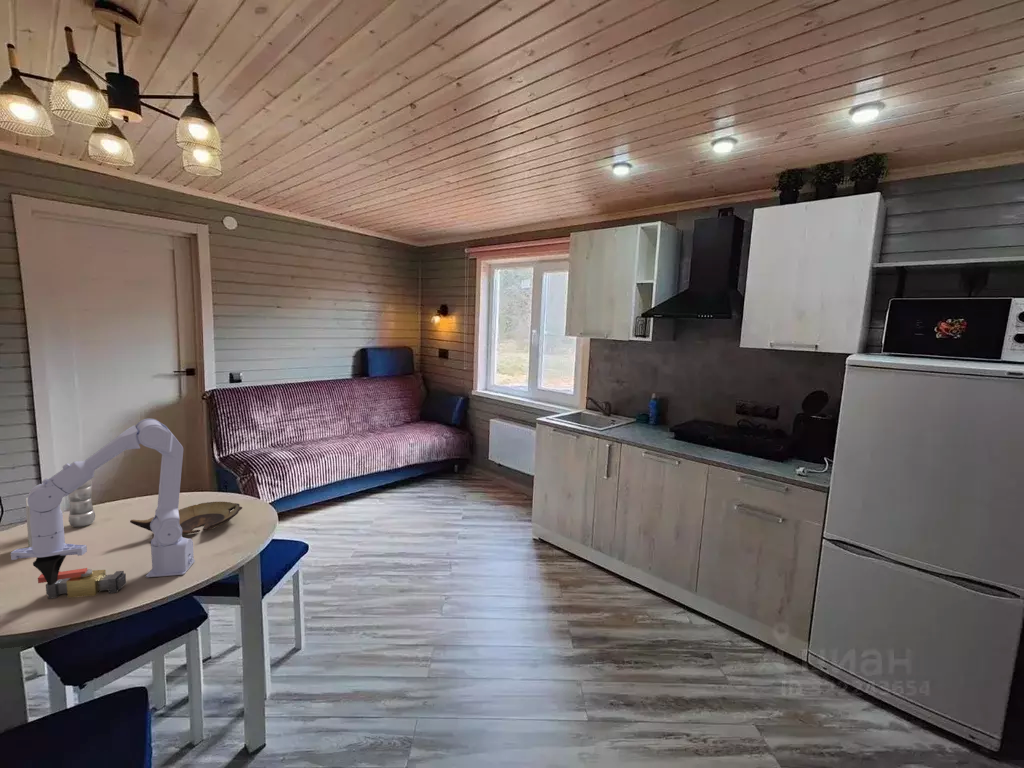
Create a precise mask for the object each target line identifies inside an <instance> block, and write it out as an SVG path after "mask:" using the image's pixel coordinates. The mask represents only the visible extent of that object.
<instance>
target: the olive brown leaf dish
mask: <svg viewBox="0 0 1024 768" xmlns="http://www.w3.org/2000/svg"><path fill="white" fill-rule="evenodd" d="M242 509H243V507H242V506H240V503H235V502H231V501H229V502H228V501H210V502H209V501H207V502H202V503H201V502H200V503H198V504H192V505H189V506H186V507H183V508H181V509H178V511H179V524H180V526H181V528H182V535H188V534H195V533H196V534H198V533H200V532H201V529H196V528H199V527H201V526H202V527H203V528H202V531H203V532H206V531H210V530H213V529H215V528H217V527H220V526H221V525H223V524H225V523H227V522H228V521H230V520H232V519H233V518H234V517H236V516H237V515H238V514H239V512H240V511H241V510H242ZM154 517H155V516H152V517H150V518H148V519H141V520H140V519H131V520H129V523H131V524H132V525H135V526H137V527H139V528H142V529H146V530H147V531H150V532H152V530H151V528H150V523H151V521H152V520H153V518H154ZM194 529H195V530H194Z"/></svg>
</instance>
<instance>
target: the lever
mask: <svg viewBox="0 0 1024 768" xmlns="http://www.w3.org/2000/svg"><path fill="white" fill-rule="evenodd" d="M92 570H93V569H91V568H90V569H89V568H88V567H86V568H85V567H84V568H77V569H71V570H64V571H61V570H59V573H58V577H57V580H59V579H66V578H73V577H79V576H80V577H87V576H90V575H92V573H93V572H92ZM37 583H38V584H43V583H47V581H46V579H45V577H44V576H43V574H42V573H41V574H39V576H38V577H37Z"/></svg>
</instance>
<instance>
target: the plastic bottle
mask: <svg viewBox="0 0 1024 768" xmlns="http://www.w3.org/2000/svg"><path fill="white" fill-rule="evenodd" d="M92 489H93V480H92V479H90V480H89V481H87V482H86V483H85V484H83V485H82V486H80V487H79V488H78V489H76V490H75V491H73V492H72V493H70V494H69V495H67V497H68V500H69V501H68V502H69V515H68V524H69V525H70V526H71V527H73V528H81V527H85V526H88V525H91V524H92V523H94V522H95V519H96V513H95V510H94V506H93V503H92Z"/></svg>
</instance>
